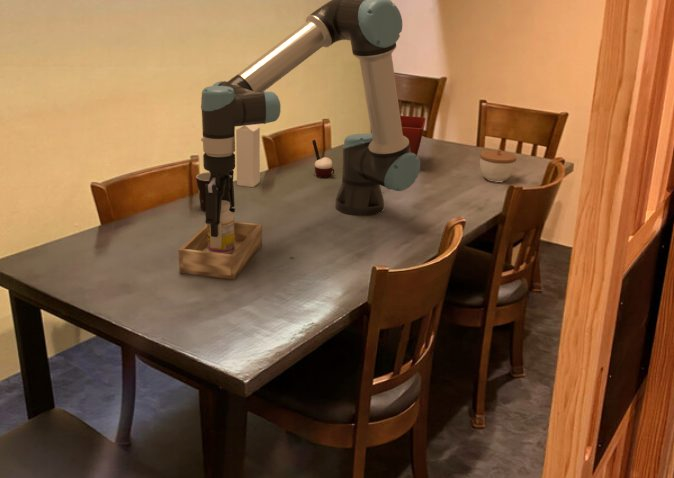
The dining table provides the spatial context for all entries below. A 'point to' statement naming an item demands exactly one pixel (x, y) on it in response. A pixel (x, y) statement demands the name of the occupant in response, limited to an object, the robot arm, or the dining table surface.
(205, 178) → the coffee mug
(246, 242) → the walled box
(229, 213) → the supplement bottle
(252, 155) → the milk
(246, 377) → the dining table surface
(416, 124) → the plant pot
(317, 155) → the cocoa
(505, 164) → the lidded bowl
